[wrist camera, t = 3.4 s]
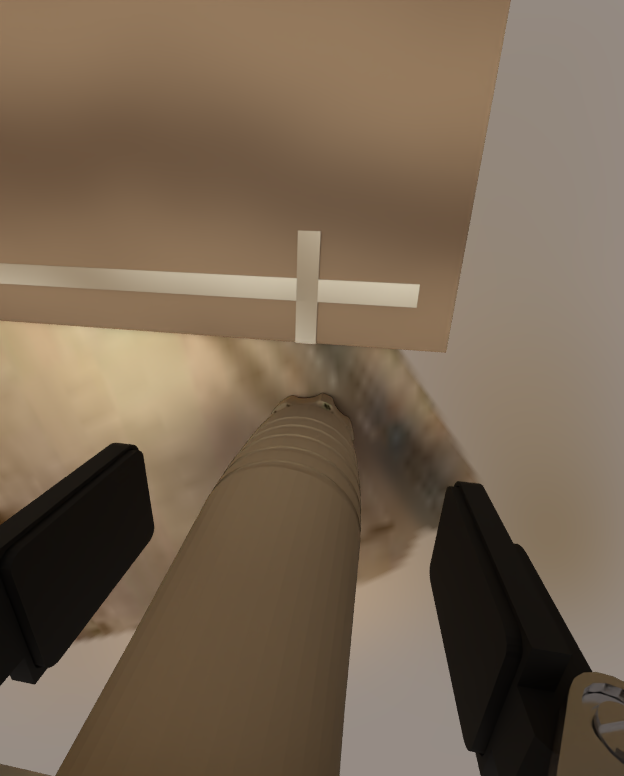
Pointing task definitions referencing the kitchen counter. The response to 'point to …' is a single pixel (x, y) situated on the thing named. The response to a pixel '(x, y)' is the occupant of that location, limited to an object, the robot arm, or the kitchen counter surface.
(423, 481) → the kitchen counter surface
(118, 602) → the kitchen counter surface
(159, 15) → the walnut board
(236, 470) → the handle
